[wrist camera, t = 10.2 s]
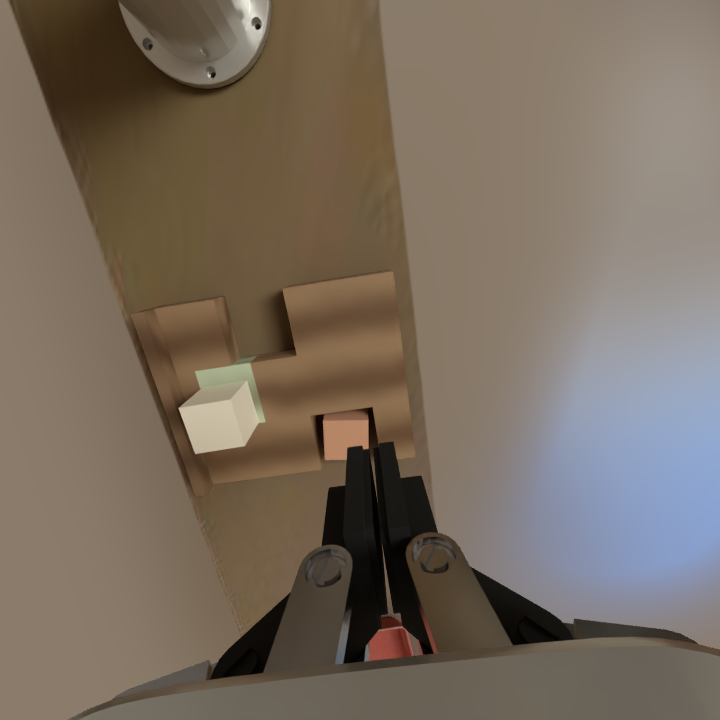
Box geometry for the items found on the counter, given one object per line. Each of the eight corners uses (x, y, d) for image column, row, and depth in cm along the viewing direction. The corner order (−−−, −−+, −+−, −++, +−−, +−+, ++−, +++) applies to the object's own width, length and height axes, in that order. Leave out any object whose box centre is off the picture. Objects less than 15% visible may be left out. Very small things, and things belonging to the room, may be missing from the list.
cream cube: (201, 388, 37) (178, 408, 32) (246, 380, 37) (230, 399, 32) (215, 429, 38) (195, 454, 33) (258, 421, 38) (244, 446, 33)
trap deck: (159, 306, 37) (130, 313, 32) (390, 269, 36) (395, 272, 31) (213, 470, 43) (195, 497, 39) (411, 442, 42) (418, 467, 38)
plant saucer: (316, 699, 57) (314, 725, 54) (286, 623, 52) (281, 647, 49) (423, 682, 56) (427, 708, 53) (403, 602, 51) (406, 626, 48)
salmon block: (325, 407, 41) (323, 420, 38) (367, 406, 41) (368, 420, 38) (327, 443, 43) (324, 460, 39) (367, 443, 43) (368, 459, 39)
